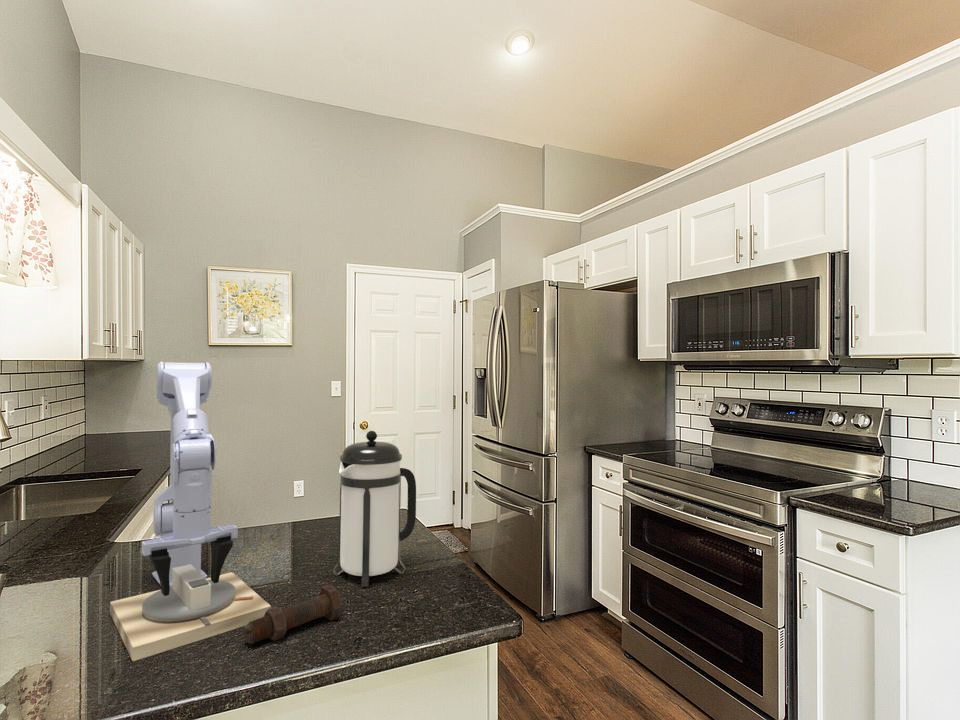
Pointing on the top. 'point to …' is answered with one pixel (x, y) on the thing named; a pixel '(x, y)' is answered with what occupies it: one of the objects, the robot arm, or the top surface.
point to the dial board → (164, 636)
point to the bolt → (294, 616)
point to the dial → (188, 597)
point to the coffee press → (372, 508)
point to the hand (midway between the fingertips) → (190, 587)
